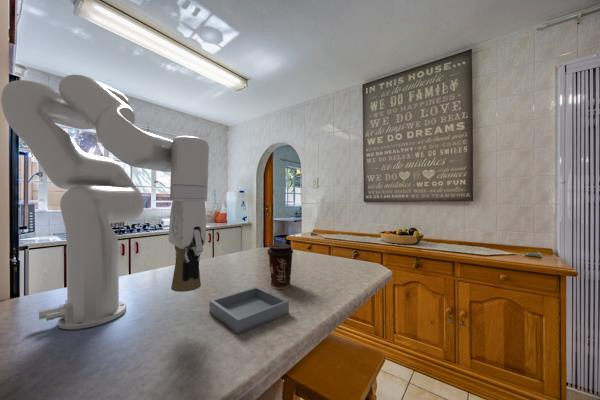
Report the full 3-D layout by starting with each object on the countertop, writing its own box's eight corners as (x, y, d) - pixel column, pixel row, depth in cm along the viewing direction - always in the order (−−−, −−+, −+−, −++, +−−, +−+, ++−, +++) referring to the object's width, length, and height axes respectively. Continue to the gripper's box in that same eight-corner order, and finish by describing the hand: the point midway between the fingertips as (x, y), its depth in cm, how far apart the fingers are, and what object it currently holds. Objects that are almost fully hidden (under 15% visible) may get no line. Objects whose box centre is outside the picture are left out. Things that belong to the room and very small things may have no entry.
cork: (193, 292, 52) (195, 240, 52) (165, 291, 52) (166, 238, 52) (205, 282, 58) (206, 235, 58) (179, 281, 58) (181, 234, 58)
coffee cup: (264, 282, 84) (264, 244, 84) (288, 279, 87) (288, 242, 87) (271, 291, 76) (271, 249, 76) (296, 288, 79) (296, 247, 79)
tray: (238, 334, 52) (238, 320, 52) (209, 312, 62) (209, 300, 62) (288, 313, 62) (288, 301, 61) (257, 297, 72) (256, 286, 72)
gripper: (159, 193, 58) (157, 271, 59) (184, 194, 46) (181, 292, 46) (192, 194, 64) (190, 265, 64) (222, 195, 51) (219, 283, 52)
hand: (186, 276), depth 55 cm, fingers closed on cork, 3 cm apart
